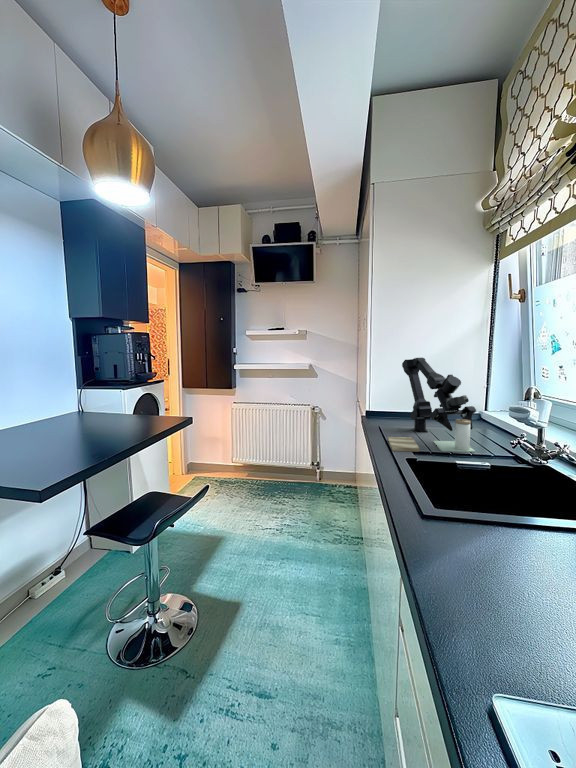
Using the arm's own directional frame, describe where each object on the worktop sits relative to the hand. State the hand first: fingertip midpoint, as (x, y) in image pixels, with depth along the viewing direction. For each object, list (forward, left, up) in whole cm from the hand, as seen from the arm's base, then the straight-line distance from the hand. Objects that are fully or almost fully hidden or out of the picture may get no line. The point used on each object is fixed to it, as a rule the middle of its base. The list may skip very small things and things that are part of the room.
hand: (461, 429), depth 136 cm
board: (-3, -23, -8) cm, 25 cm away
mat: (-3, -2, -8) cm, 9 cm away
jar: (+1, 0, -8) cm, 8 cm away
